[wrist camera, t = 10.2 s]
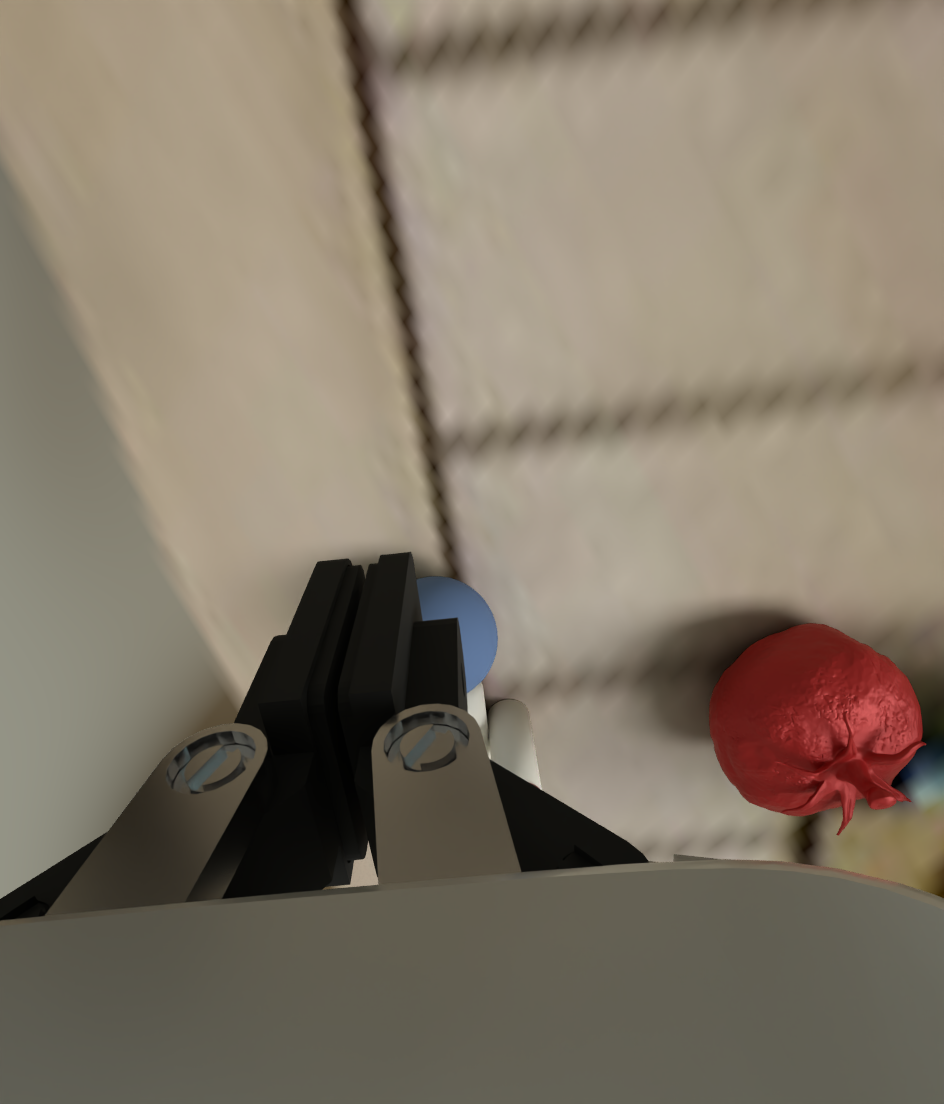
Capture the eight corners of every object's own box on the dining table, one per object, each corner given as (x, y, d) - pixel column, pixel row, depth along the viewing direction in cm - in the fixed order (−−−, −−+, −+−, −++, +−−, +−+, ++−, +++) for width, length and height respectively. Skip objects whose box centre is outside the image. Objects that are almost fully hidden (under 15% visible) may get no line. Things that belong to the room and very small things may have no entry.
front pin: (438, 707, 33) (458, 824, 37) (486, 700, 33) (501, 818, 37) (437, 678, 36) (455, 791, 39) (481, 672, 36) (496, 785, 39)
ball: (389, 685, 34) (386, 573, 34) (501, 685, 34) (498, 571, 34) (359, 717, 28) (356, 582, 28) (496, 718, 28) (493, 579, 28)
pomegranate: (658, 671, 36) (716, 799, 28) (821, 572, 34) (939, 679, 25) (744, 774, 39) (819, 916, 31) (899, 691, 37) (1026, 821, 28)
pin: (484, 700, 36) (493, 822, 29) (528, 696, 36) (549, 817, 29) (488, 734, 37) (498, 861, 30) (531, 730, 37) (551, 856, 30)
